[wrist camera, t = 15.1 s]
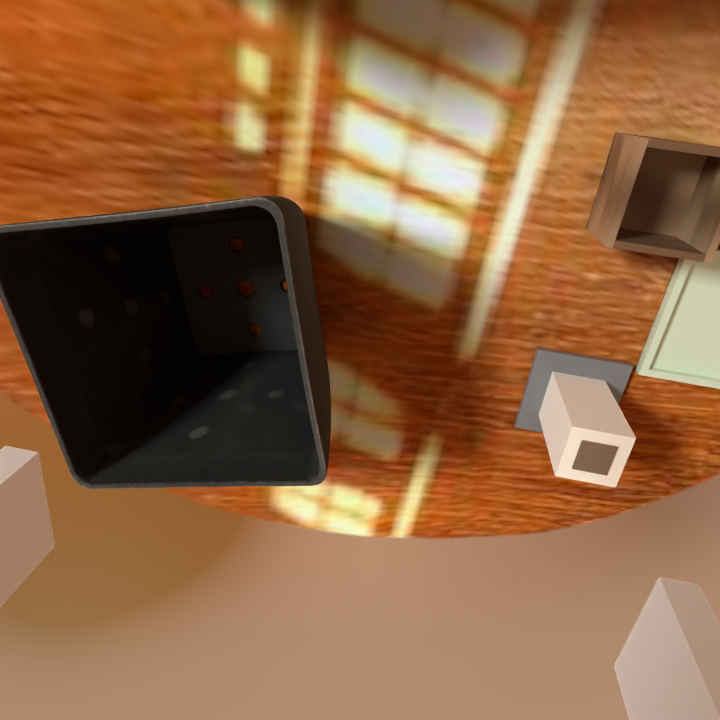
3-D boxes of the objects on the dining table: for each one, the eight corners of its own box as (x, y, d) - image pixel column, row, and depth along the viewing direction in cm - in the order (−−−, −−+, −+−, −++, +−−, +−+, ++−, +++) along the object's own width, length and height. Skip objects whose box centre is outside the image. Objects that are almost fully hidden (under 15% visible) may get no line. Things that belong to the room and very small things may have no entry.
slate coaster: (537, 346, 47) (538, 349, 47) (631, 363, 47) (633, 366, 46) (514, 423, 51) (515, 427, 50) (601, 440, 50) (603, 443, 50)
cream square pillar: (552, 371, 47) (572, 427, 39) (606, 380, 47) (637, 439, 39) (538, 415, 50) (554, 477, 41) (589, 425, 49) (616, 489, 41)
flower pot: (337, 163, 44) (276, 196, 28) (365, 375, 51) (328, 489, 36) (123, 188, 47) (-31, 229, 32) (179, 383, 55) (76, 489, 40)
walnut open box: (615, 132, 40) (641, 137, 34) (715, 146, 39) (757, 153, 34) (586, 228, 43) (605, 246, 37) (678, 242, 42) (711, 263, 37)
